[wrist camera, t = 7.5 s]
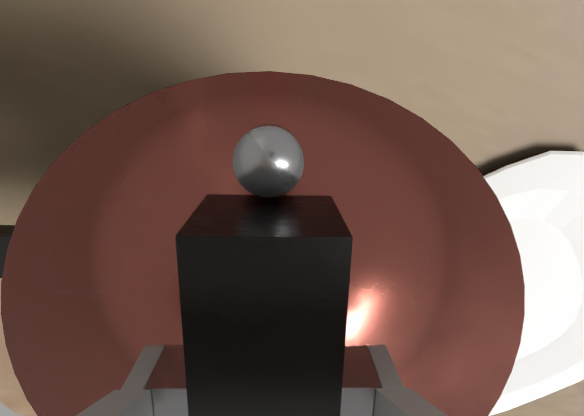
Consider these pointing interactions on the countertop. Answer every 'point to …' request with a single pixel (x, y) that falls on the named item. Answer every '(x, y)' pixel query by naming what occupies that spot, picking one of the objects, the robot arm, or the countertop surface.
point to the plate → (546, 271)
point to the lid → (262, 253)
